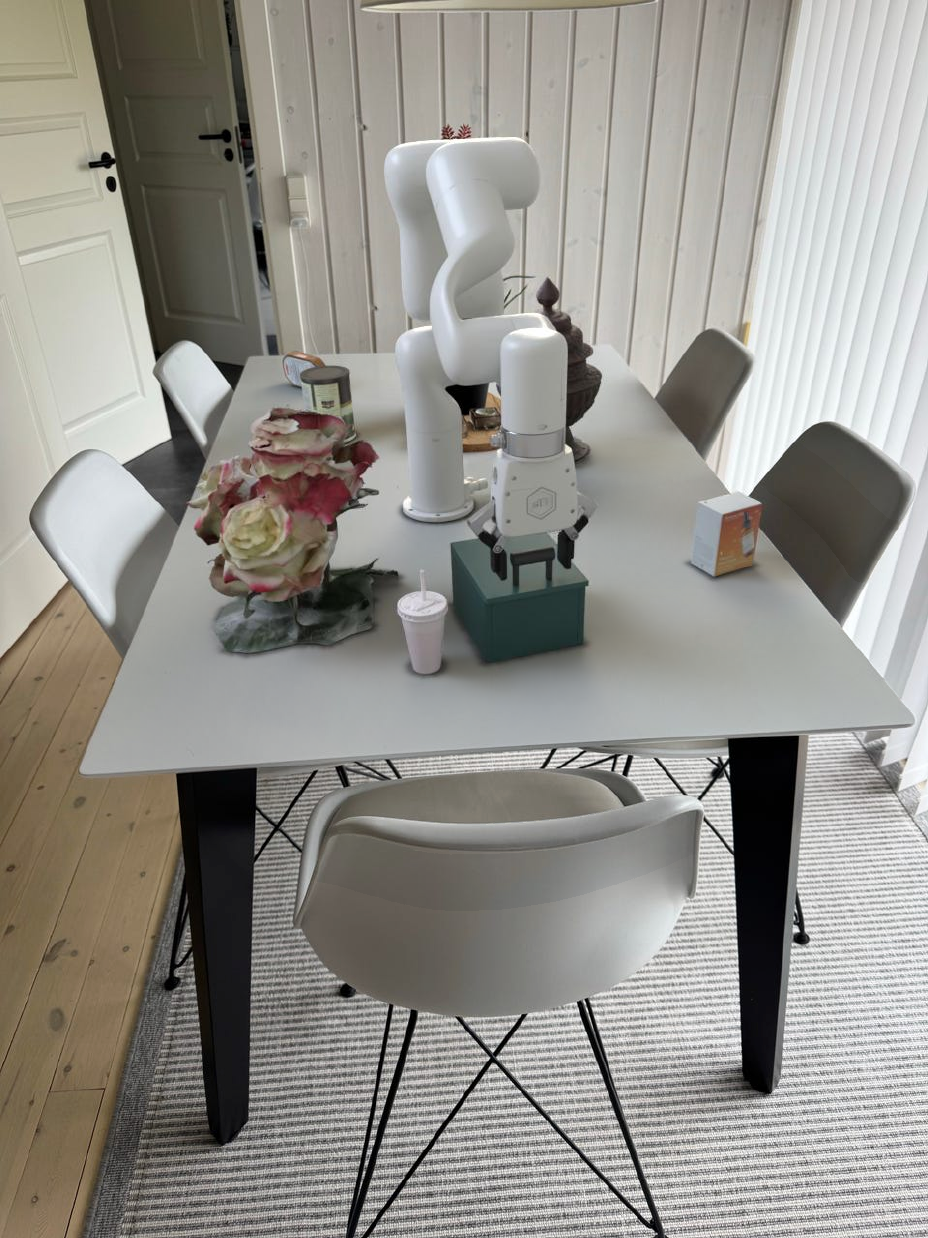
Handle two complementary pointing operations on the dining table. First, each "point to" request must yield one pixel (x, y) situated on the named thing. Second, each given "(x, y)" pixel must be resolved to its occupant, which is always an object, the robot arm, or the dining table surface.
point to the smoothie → (423, 627)
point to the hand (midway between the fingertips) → (532, 569)
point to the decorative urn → (571, 367)
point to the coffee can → (329, 394)
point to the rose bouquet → (287, 533)
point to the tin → (299, 365)
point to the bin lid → (518, 568)
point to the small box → (725, 533)
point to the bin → (518, 619)
